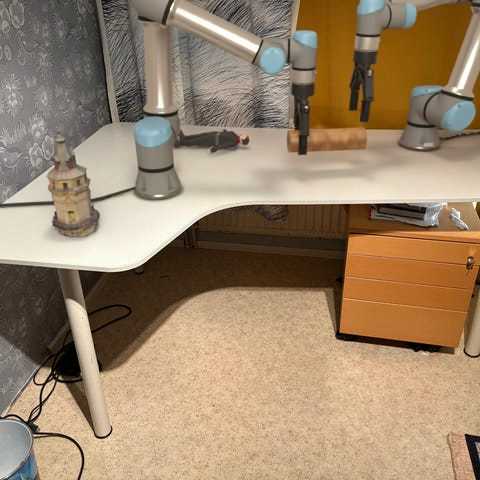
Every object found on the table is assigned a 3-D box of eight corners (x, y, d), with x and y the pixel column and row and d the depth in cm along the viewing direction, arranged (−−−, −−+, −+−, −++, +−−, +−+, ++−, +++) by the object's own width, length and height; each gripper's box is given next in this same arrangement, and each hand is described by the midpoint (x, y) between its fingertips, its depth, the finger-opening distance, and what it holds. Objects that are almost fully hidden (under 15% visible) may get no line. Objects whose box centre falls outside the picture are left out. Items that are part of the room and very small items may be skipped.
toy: (185, 122, 227) (254, 122, 220) (186, 136, 230) (255, 137, 224) (165, 142, 205) (242, 143, 198) (167, 157, 208) (243, 159, 201)
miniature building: (80, 214, 164) (63, 117, 149) (111, 225, 157) (96, 125, 142) (44, 231, 154) (22, 130, 140) (75, 244, 147) (55, 139, 133)
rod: (290, 155, 180) (290, 134, 176) (286, 148, 186) (287, 127, 182) (365, 152, 182) (368, 131, 178) (359, 145, 188) (361, 124, 184)
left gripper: (321, 89, 163) (317, 160, 174) (308, 75, 181) (305, 140, 192) (297, 90, 163) (294, 161, 174) (286, 75, 180) (284, 141, 192)
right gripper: (390, 57, 160) (380, 126, 170) (366, 43, 182) (358, 106, 192) (365, 57, 159) (357, 127, 170) (344, 43, 181) (338, 106, 191)
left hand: (300, 150), depth 183 cm, fingers closed on rod, 7 cm apart
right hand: (358, 116), depth 181 cm, fingers open, 13 cm apart
